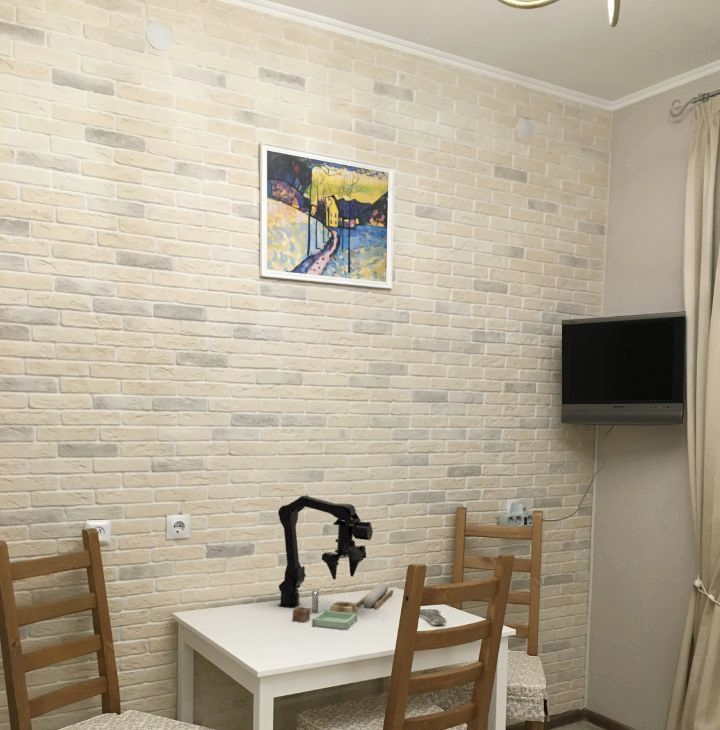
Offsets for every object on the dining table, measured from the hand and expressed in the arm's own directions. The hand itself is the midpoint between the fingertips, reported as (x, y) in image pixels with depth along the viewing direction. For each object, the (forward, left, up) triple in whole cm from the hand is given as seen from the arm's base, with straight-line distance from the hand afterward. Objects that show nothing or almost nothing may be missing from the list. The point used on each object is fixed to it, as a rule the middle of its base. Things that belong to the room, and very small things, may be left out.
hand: (343, 577), depth 302 cm
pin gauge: (-10, -4, -13) cm, 17 cm away
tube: (+7, +22, -14) cm, 27 cm away
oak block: (+1, -2, -13) cm, 13 cm away
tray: (+2, -16, -13) cm, 20 cm away
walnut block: (-11, -16, -13) cm, 23 cm away
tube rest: (+7, +22, -13) cm, 27 cm away
